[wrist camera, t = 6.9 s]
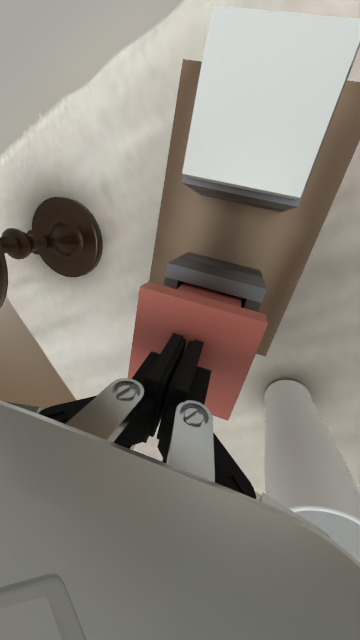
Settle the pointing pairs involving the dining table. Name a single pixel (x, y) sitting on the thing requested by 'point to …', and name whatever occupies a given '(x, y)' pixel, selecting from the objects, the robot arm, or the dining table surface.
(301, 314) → the dining table surface
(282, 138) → the grey plunger
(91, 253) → the candlestick
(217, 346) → the red plunger
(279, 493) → the drinking glass
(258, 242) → the board
